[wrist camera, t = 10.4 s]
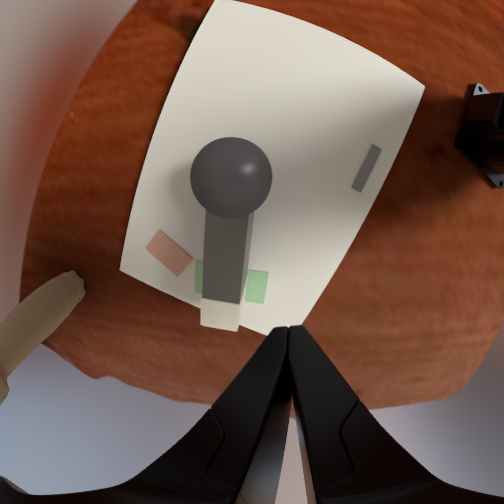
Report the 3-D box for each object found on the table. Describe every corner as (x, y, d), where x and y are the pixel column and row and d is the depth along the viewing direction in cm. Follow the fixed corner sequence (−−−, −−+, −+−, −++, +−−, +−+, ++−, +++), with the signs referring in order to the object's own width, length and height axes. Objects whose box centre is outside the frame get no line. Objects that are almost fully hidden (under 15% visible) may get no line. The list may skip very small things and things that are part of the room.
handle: (53, 284, 24) (-36, 367, 10) (69, 246, 22) (-47, 335, 8) (83, 314, 25) (1, 411, 11) (103, 281, 22) (-3, 393, 9)
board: (418, 88, 14) (426, 86, 12) (288, 335, 22) (288, 344, 21) (219, 3, 13) (216, -4, 12) (125, 265, 21) (118, 271, 20)
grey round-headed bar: (212, 135, 16) (193, 134, 12) (278, 141, 15) (276, 141, 12) (203, 291, 20) (187, 322, 16) (256, 300, 20) (251, 333, 16)
